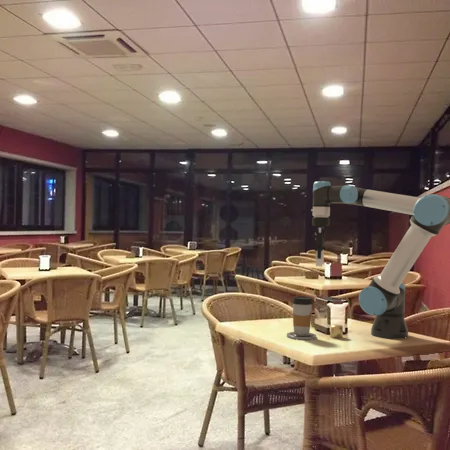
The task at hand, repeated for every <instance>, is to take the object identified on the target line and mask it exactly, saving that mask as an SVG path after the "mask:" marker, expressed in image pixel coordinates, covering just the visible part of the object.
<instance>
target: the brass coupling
mask: <svg viewBox="0 0 450 450" xmlns="http://www.w3.org/2000/svg"><path fill="white" fill-rule="evenodd" d="M343 328H344V326H343V325H341V324H331V325H330V329H329V333H330V334H329V337H330V338H331V339H337V340H339V339H343V332H344V329H343Z"/></svg>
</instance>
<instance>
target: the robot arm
mask: <svg viewBox="0 0 450 450" xmlns="http://www.w3.org/2000/svg"><path fill="white" fill-rule="evenodd" d="M312 187H313V188H312V208H311V209H310V211H311V212H312V216H313V217H311V219H312V220H311V221H312V222H311V225H312V226H313V227H317V228H316V229H315V238H316V244H315V246H316V247H315V248H314V252H315V267H323V265H324V258H325V253H324V252H325V250H326V246H325V239H326V237H325V235H326V229H325V228H324V227H329V226H330V225H331V224H330V218H329V217H330V216H331V207H330V206H331V204H347V205H355V206H360V207H366V208H367V207H368V208H373V209H379V210H384V211H389V212H394V213H399V214H404V215H405V214H406V215H410V216H411V217H410V219H409V223H410V226H409V228H408V230H407V231H406V233H405V234H404V235H403V237H402V239H401V241H400V242H399V244H398V246H397V247H396V248H395V250H394V252H393V253H392V255H391V257H390V258H389V259H388V261H387V263H386V265H385V266H384V268H383V269H382V271H381V273H380V274H379V275H375V276H374V277H372V279H371V282H370V283H369V285H368V286H365V287H364V288H363V289H361V291H360V293H359V294H358V302H359V303H358V304H359V306H360V308H361V310H363V312H365V313H366V314H367V315H370V316H375V318H374V321H373V323H372V325H371V328H370V330H371V331H370V334H371V335H372V336H375V337H377V338H382V337H383V339H391V338H403V339H406V338H405V337H407V338H408V337H409V330H408V326H407V323H406V320H405V307H406V306H405V305H406V303H405V302H406V285H405V283H404V282H403V281H404V280H405V279H406V277H407V276H408V274H409V272H410V271H411V269H412V268H413V266H414V264H415V263H416V261H417V259H418V258H419V257H420V255H421V254H422V252H423V250H424V249H425V247H426V246H427V244H428V243H429V241H430V240H431V238H433V237H436V236H438V235H439V233H440V232H441V230H442V229H443V227H444V226H448V225H449V224H450V197H448V196H444V195H440V194H436V193H435V194H433V193H431V194H426V195H423V196H421V197H418V196H412V195H406V194H398V193H392V192H386V191H382V190H381V191H380V190H373V189H366V188H361V187H356V186H355V185H351V184H349V185H348V184H346V185H331V181H322V180H321V181H320V180H319V181H314V183H313V186H312Z"/></svg>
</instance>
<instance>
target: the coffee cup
mask: <svg viewBox="0 0 450 450" xmlns="http://www.w3.org/2000/svg"><path fill="white" fill-rule="evenodd" d="M291 301H292V326H293V332H294V334H295V335H299V336H307V335H309V333H311V331H310V329H311V321H312V314H313V313H312V308H313V300H312V297H309V296H293V299H292V300H291Z"/></svg>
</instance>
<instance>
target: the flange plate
mask: <svg viewBox="0 0 450 450" xmlns="http://www.w3.org/2000/svg"><path fill="white" fill-rule="evenodd" d="M286 337H287V338H288V339H291V340H296V339H298V340H297V341H311V340H310V339H313V340H316V339H317V335H316V334H315V333H313V332H309V335H307V336H299V335H295V334H294V331H289V332H287V333H286ZM315 338H316V339H315Z"/></svg>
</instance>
